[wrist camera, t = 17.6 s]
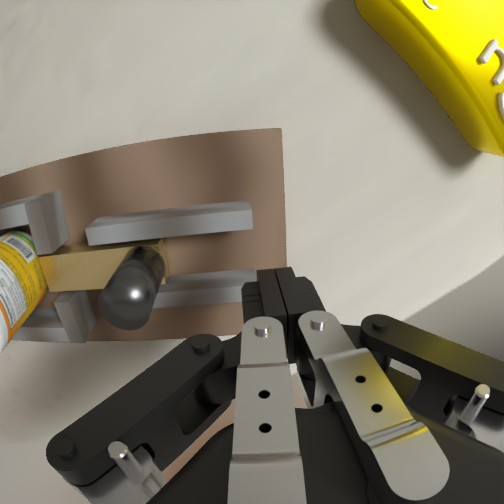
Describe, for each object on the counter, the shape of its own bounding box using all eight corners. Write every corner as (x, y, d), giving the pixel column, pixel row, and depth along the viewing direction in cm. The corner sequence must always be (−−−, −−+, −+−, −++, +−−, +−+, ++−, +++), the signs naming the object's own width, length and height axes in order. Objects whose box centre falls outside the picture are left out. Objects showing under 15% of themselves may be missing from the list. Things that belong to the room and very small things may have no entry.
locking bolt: (60, 280, 18) (19, 330, 13) (50, 247, 17) (2, 291, 12) (173, 271, 18) (155, 329, 13) (166, 233, 17) (142, 282, 12)
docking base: (10, 332, 21) (-7, 354, 18) (-38, 190, 15) (-64, 202, 12) (285, 322, 22) (294, 352, 19) (278, 128, 17) (290, 129, 13)
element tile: (534, 60, 14) (569, 61, 10) (474, 160, 18) (517, 174, 14) (433, -70, 10) (464, -89, 5) (339, 3, 14) (370, -25, 9)
